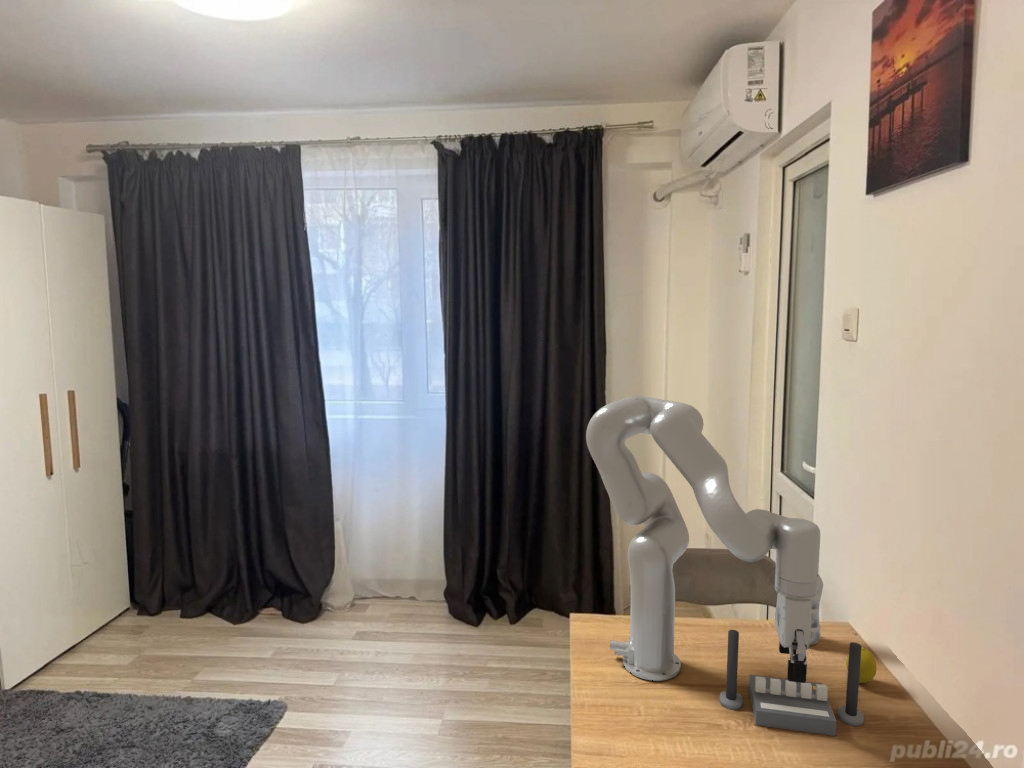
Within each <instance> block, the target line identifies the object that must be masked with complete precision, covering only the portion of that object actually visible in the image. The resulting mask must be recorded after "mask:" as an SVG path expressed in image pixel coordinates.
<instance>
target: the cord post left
mask: <svg viewBox="0 0 1024 768" xmlns="http://www.w3.org/2000/svg"><path fill="white" fill-rule="evenodd" d="M727 636H728V637H727V656H726V658H727V659H726V660H727V661H726V685H725V687H726V689H725V690H724V691H721V692H720V693H719V704H720V705H721V706H722V707H723V708H725V709H727V710H733V711H737V710H740V709H742V708H743V703H744V701H743V700H744V699H743V696H742V695H741V694H739V693H738V691H737V690H738V689H737V688H738V672H739V671H738V670H739V669H738V666H739V665H738V664H739V641H740V632H739V631H738V630H736V629H729V630H728V633H727Z"/></svg>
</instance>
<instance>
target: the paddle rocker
mask: <svg viewBox="0 0 1024 768" xmlns="http://www.w3.org/2000/svg"><path fill="white" fill-rule="evenodd" d="M755 691H756V692H760V693H765V692H766V693H771V694H775V695H786V696H791V697H796V696H797V697H801V698H806V699H811V698H813V699H817V700H822V701H827V698H828V692H829V691H828V686H827V684H823V683H822V684H816V695H812V685H811V683H801V688H800V693H796V682H791V681H788V680H786V681H785V691H781V681H780V679H773V678H770V689H766V679H765V677H756V676H755Z"/></svg>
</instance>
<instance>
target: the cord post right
mask: <svg viewBox="0 0 1024 768" xmlns="http://www.w3.org/2000/svg"><path fill="white" fill-rule="evenodd" d="M861 647H863V646H862V644H860V643H858V642H854V641H853V642H850V643H849V648H848V649H849V651H848V654H849V661H848V670H847V675H846V676H847V678H846V679H847V680H846V691H845V692H846V693H845V705H841V706H839V707H838V711H837V717H838V719H839V720H840V721H841V722H842V723H844V724H846V725H849V726H853V727H860V726H863V725H864V720H865V715H864V713H863V712H862V711H861V710H859V709H858V703H859V689H860V688H859V687H860V683H859V676H860V662H861Z"/></svg>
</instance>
